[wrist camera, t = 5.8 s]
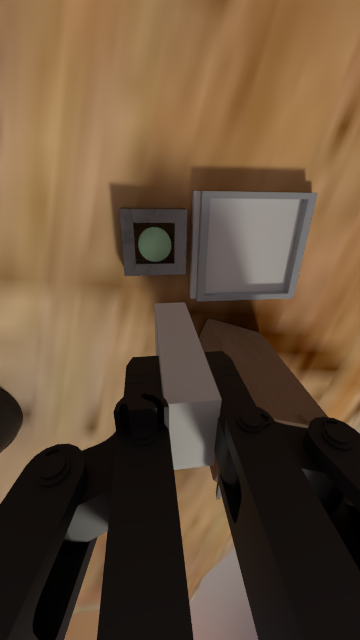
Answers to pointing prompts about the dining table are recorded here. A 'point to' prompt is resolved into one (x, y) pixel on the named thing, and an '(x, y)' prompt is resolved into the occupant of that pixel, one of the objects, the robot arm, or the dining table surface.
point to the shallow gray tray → (247, 244)
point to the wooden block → (261, 375)
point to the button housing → (154, 216)
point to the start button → (154, 243)
